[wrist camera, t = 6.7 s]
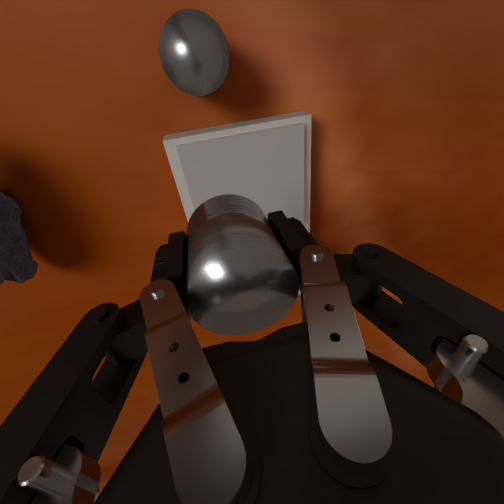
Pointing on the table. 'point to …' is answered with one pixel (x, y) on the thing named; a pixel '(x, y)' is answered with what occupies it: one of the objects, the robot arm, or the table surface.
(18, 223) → the stone
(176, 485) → the robot arm
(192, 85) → the cylinder
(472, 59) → the table surface
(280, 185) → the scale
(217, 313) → the grey glossy egg shape
